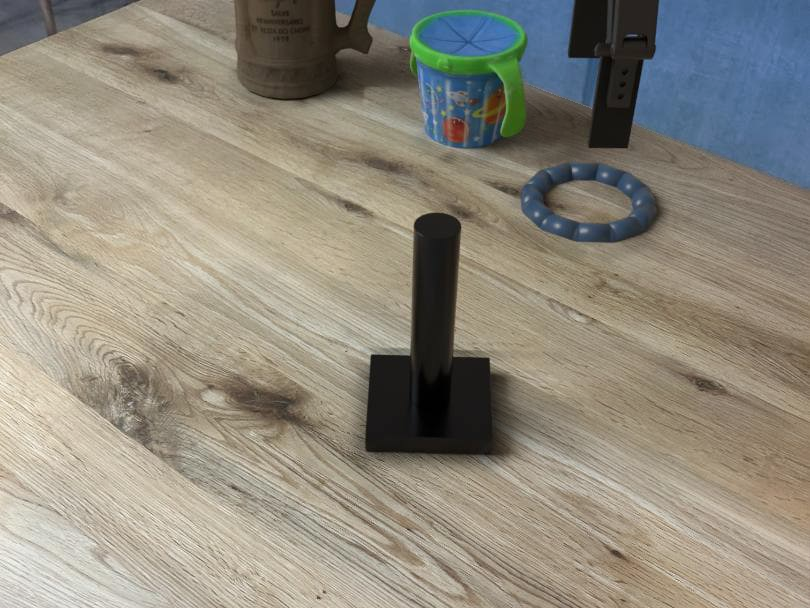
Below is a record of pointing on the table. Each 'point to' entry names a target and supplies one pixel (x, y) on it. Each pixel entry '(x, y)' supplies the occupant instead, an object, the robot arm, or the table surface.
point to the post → (431, 363)
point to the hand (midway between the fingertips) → (595, 98)
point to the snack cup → (469, 76)
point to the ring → (588, 232)
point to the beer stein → (295, 44)
